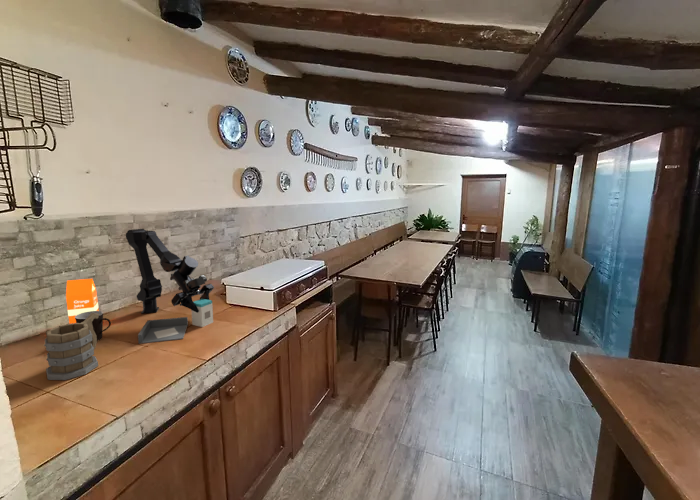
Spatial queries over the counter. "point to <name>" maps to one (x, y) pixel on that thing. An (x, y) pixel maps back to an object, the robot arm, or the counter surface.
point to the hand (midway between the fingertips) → (204, 309)
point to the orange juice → (80, 297)
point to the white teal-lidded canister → (202, 313)
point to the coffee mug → (94, 322)
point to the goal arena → (163, 330)
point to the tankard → (71, 349)
